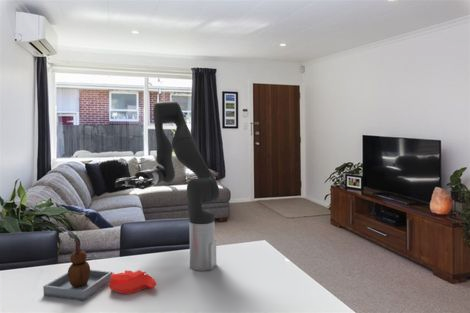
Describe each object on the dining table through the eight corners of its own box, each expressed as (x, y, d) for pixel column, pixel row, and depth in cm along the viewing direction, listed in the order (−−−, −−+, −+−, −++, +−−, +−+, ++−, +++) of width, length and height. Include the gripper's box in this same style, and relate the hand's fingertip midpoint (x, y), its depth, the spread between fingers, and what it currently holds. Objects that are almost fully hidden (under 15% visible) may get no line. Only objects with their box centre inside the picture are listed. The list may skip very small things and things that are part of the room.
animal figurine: (155, 297, 108) (154, 281, 108) (105, 297, 108) (105, 281, 107) (161, 280, 120) (161, 266, 119) (117, 280, 119) (116, 266, 119)
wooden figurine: (81, 290, 110) (79, 244, 109) (64, 289, 111) (62, 243, 110) (93, 281, 117) (92, 237, 115) (78, 279, 118) (76, 236, 117)
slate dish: (112, 280, 119) (112, 271, 119) (84, 301, 105) (83, 291, 105) (75, 276, 123) (75, 267, 122) (43, 295, 109) (43, 286, 108)
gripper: (131, 169, 151) (108, 174, 135) (161, 170, 147) (142, 175, 132) (131, 186, 151) (109, 193, 136) (161, 188, 148) (142, 195, 132)
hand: (125, 185), depth 134 cm, fingers open, 8 cm apart
